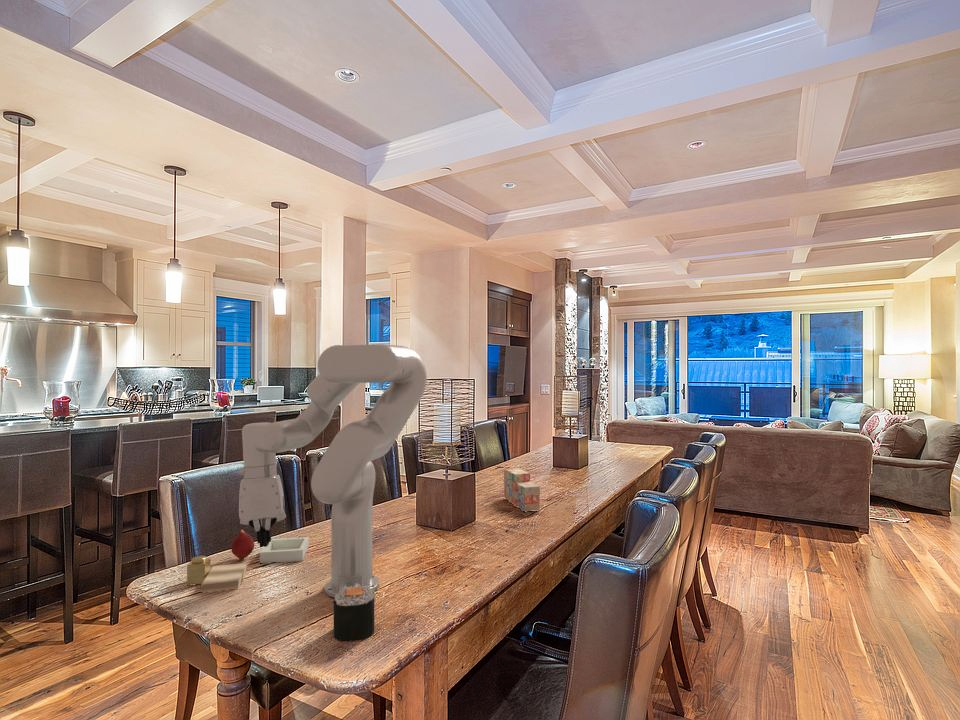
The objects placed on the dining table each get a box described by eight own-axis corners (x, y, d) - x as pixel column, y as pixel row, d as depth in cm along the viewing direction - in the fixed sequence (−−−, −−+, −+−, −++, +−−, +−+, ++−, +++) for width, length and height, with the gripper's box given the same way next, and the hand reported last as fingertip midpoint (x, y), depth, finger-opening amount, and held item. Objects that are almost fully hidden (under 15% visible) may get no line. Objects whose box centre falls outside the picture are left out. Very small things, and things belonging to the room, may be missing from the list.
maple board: (238, 591, 123) (238, 580, 123) (201, 595, 121) (201, 584, 121) (247, 572, 135) (247, 562, 135) (213, 575, 133) (213, 566, 133)
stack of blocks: (540, 511, 188) (539, 477, 189) (524, 513, 186) (523, 479, 187) (518, 497, 209) (518, 467, 209) (503, 499, 207) (503, 468, 207)
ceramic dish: (302, 561, 141) (302, 549, 141) (259, 563, 139) (259, 552, 139) (308, 547, 152) (308, 537, 152) (269, 549, 150) (269, 539, 150)
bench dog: (204, 584, 126) (204, 560, 126) (187, 585, 125) (187, 561, 125) (210, 577, 130) (210, 554, 130) (193, 579, 129) (193, 555, 129)
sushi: (331, 644, 98) (331, 602, 98) (335, 623, 106) (335, 584, 107) (375, 639, 100) (375, 598, 100) (375, 619, 108) (375, 580, 108)
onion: (258, 556, 145) (258, 527, 145) (244, 564, 139) (244, 534, 139) (241, 554, 146) (241, 526, 146) (226, 562, 141) (226, 532, 141)
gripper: (224, 477, 125) (228, 554, 125) (288, 471, 128) (293, 546, 128) (233, 472, 133) (237, 544, 132) (294, 466, 136) (298, 537, 135)
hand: (264, 545), depth 130 cm, fingers closed
